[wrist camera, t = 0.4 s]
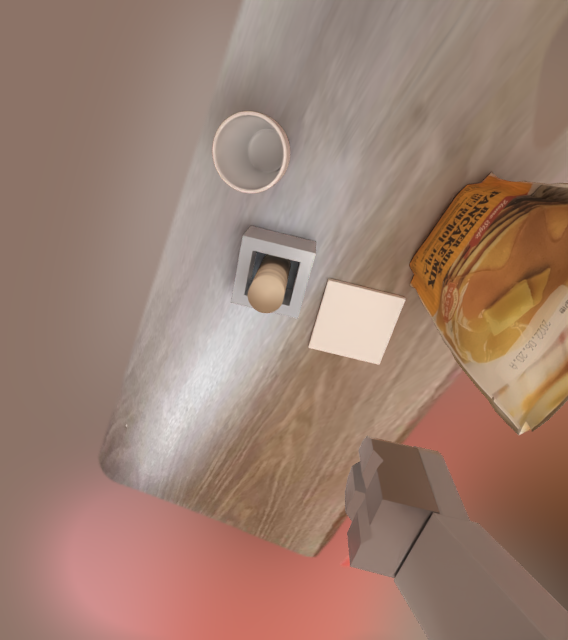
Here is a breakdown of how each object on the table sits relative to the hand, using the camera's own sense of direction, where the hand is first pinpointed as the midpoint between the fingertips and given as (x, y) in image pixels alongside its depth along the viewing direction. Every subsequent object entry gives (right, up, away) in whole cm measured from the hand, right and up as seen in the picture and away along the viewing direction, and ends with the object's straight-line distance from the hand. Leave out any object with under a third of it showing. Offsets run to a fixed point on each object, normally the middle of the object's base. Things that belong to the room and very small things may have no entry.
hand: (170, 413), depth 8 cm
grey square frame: (+1, +10, +45) cm, 46 cm away
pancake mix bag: (+25, +13, +41) cm, 50 cm away
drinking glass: (+1, +23, +39) cm, 45 cm away
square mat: (+13, +2, +47) cm, 49 cm away
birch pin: (+1, +10, +45) cm, 46 cm away
